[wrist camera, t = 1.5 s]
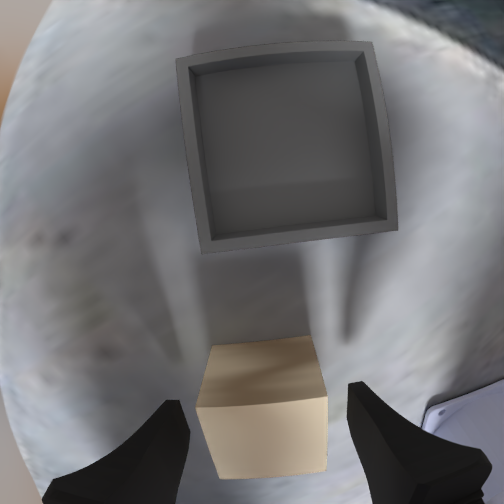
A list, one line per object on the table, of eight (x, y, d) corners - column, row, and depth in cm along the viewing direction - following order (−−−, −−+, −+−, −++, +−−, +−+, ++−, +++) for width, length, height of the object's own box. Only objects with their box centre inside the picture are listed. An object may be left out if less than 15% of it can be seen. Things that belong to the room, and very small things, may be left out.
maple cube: (310, 334, 14) (327, 396, 10) (313, 406, 15) (326, 470, 11) (212, 344, 14) (194, 407, 10) (228, 414, 15) (220, 479, 11)
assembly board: (354, 62, 11) (372, 41, 9) (375, 220, 13) (398, 230, 10) (190, 77, 11) (175, 58, 9) (211, 239, 13) (201, 254, 11)
